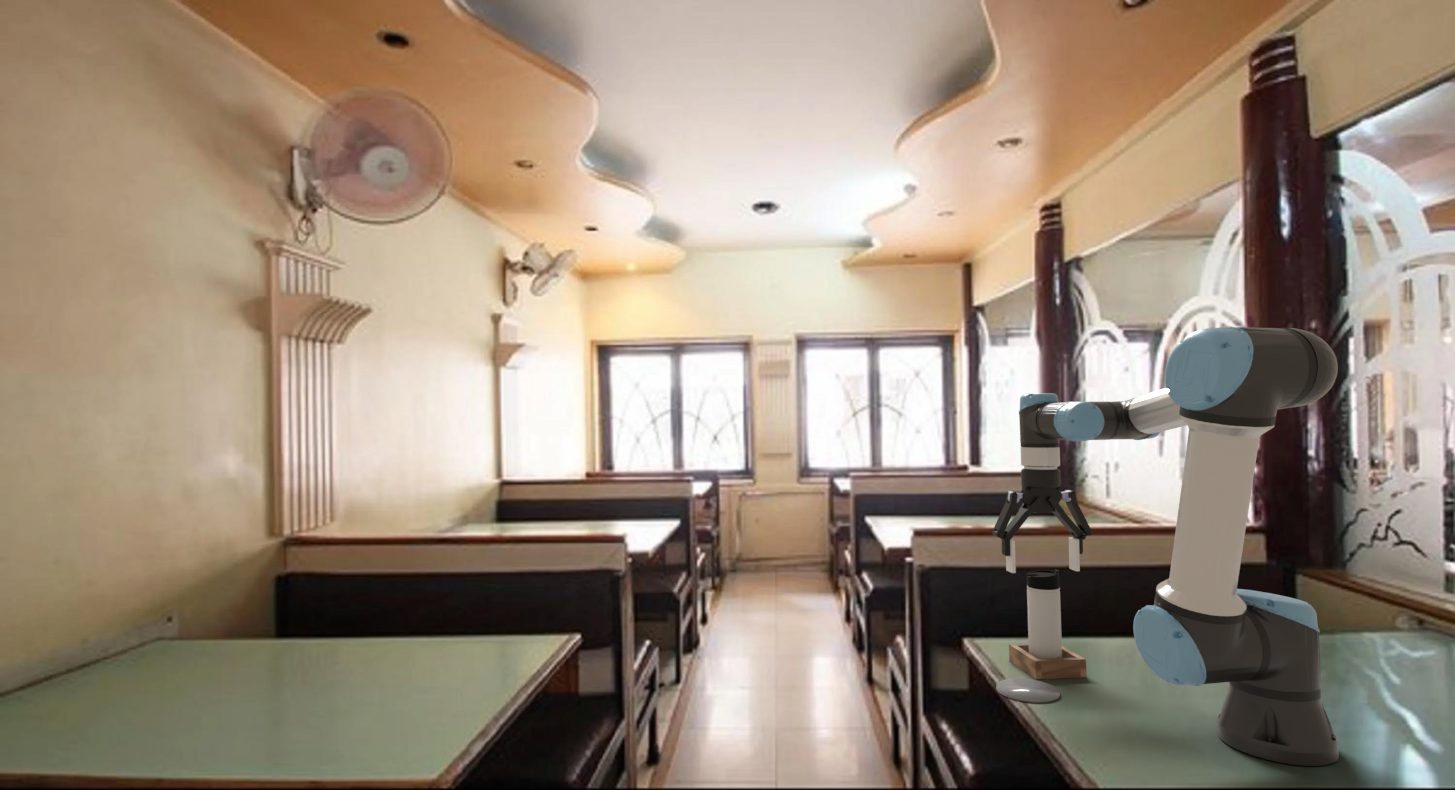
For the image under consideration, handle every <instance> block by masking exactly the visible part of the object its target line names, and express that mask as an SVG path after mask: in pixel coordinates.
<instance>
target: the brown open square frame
mask: <svg viewBox="0 0 1455 790" xmlns="http://www.w3.org/2000/svg"><path fill="white" fill-rule="evenodd" d="M1008 654H1009V655H1008V656H1009V658H1008V661H1009V662H1010V663H1012V665H1015V666H1016V667H1017V668H1019V669H1020V670H1021V671H1023V672H1025V673H1026V674H1027V675H1029V676H1030V677H1032V678H1033V679H1034V680H1051V679H1052V680H1053V679H1076V678H1077V679H1078V678H1079V679H1081V678H1088V677H1087V675H1088V673H1087V659H1086V657H1085V658H1084V657H1082V656H1081V655H1079V654H1077V653H1076V652H1073V651H1072V650H1070V649H1068V648H1067V647H1065V646H1063V645H1062V658H1054V659H1037V658H1036V657H1034V656H1032V655H1031V654H1029V643H1008Z"/></svg>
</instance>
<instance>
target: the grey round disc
mask: <svg viewBox="0 0 1455 790" xmlns="http://www.w3.org/2000/svg"><path fill="white" fill-rule="evenodd" d="M995 687H996V691H997V693H999V694H1000V695H1001V696H1003V697H1006V698H1008V699H1010V700H1011V699H1012V700H1014V701H1018V702H1024V703H1036V704H1037V703H1039V704H1040V703H1041V704H1042V703H1051V702H1054V701H1057V700H1059V698H1060V694H1061V692H1060V690H1059V688H1057V687H1056V686H1054V685H1052V684H1050V683H1047V682H1044V681H1041V680H1038V679H1029V678H1006V679H1002V680H999V681H997V683H996V686H995Z"/></svg>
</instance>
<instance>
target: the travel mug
mask: <svg viewBox="0 0 1455 790" xmlns="http://www.w3.org/2000/svg"><path fill="white" fill-rule="evenodd" d="M1026 575H1027V576H1026V581H1027V582H1026V598H1027V599H1026V601H1027V603H1026V604H1027V631H1028V633H1027V635H1028V636H1027V637H1028V644H1029V654H1031V655H1032V656H1034V657H1036V658H1037V659H1054V658H1062V646H1063V644H1062V641H1063V640H1062V637H1063V636H1062V611H1061V609H1062V608H1061V605H1062V604H1061V591H1060V590H1061V587H1060V586H1061V585H1060V575H1062V571H1061V570H1059V569H1040V570H1039V569H1037V570H1033V571H1032V570H1031V571H1029V572H1028V573H1026Z"/></svg>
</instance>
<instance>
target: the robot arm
mask: <svg viewBox="0 0 1455 790" xmlns="http://www.w3.org/2000/svg"><path fill="white" fill-rule="evenodd" d="M1337 360H1338V359H1337V357H1336V354H1335V352H1334V351H1333V348H1331V347H1330V345H1329V344H1328V343H1327V342H1326V341H1325V340H1324V339H1323V338H1322V337H1320V336H1318V335H1317V334H1314V333H1313V332H1311V331H1307V330H1303V329H1299V328H1296V327H1295V328H1294V327H1245V326H1244V327H1241V326H1237V327H1236V326H1231V325H1229V326H1220V327H1208V328H1201V329H1198V330H1195V331H1192V332H1191V333H1188V335H1186V336H1185V337H1184V338H1183V339H1182V340H1180V341H1178V343H1177V344H1176V346H1175V347H1174V348H1173V350H1172V351H1171V353H1170V355H1169V357H1168V359H1167V361H1166V366H1165V371H1164V386H1165V387H1163V388H1161V389H1157V390H1154V391H1151V392H1148V393H1146V394H1142V395H1139V396H1137V397H1133V398H1131V399H1130V398H1129V399H1127V400H1121V401H1120V400H1119V401H1084V400H1073V401H1072V400H1071V401H1063V402H1060V401H1059V396H1058V394H1056V393H1053V392H1052V393H1051V392H1045V393H1044V392H1043V393H1038V392H1037V393H1035V392H1034V393H1024V394H1022V395H1021V396H1020V398H1019V410H1018V415H1019V416H1018V417H1019V438H1020V439H1019V440H1020V441H1019V443H1020V466H1022V467H1023V468H1021V470H1020V485H1021V491H1020V492H1015V491H1011V490H1008V491H1007V492H1006V496H1005V503H1004V505H1003V507H1002V509H1001V512H1000V513H999V516H998V518H997V521H996V523H995V525H994V527H993V529H992V532H991V534H992V536H993V537H997V538H999V539H1000V540H1001V554H1002V555H1003V556H1005V570H1006V572H1009V573H1011V574H1017V565H1016V564H1017V563H1016V561H1017V560H1016V541H1015V540H1013V538H1014V536H1015V534H1016V533H1017V532H1018V531H1019V529H1021V527H1022V526H1023V524H1024V523H1025V522H1026V520H1028V519H1029V517H1030V516H1032V515H1033V514H1042V513H1045V514H1053V515H1054V516H1055V517H1056V518H1057V519H1058V521H1059V522H1060V523H1061V524H1062V525H1063V526H1064V528H1065V529H1066V530H1067V531H1068V532H1069V533H1070V534H1071V536H1072V537H1068V568H1069V569H1070V570H1072V571H1074V572H1080V571H1081V568H1080V567H1081V565H1080V563H1081V562H1080V555H1083V552H1084V541H1083V540H1085V539H1086V538H1087V537H1088V536H1092V534H1093V530H1092V528H1091V527H1090V524H1089V523H1088V521H1087V518H1086V517H1085V515H1084V513H1083V511H1082V509H1081V507H1080V504H1079V503H1078V501H1077V500H1078V499H1077V494H1076V491H1074V490H1071V489H1065V490H1064V491H1061V485H1062V484H1061V483H1062V481H1061V470H1060V469H1059V468H1058V467H1060V466H1061V451H1060V450H1061V448H1060V446H1061V445H1060V441H1070V442H1075V443H1076V442H1086V441H1087V442H1088V441H1104V440H1105V441H1107V440H1135V441H1141V440H1146V439H1147V440H1149V439H1154V438H1156V437H1158V436H1159V434H1160V433H1162V432H1165V431H1168V430H1173V429H1177V428H1182V427H1186V426H1187V427H1188V433H1187V443H1186V450H1185V456H1184V466H1183V471H1182V472H1183V474H1182V481H1181V486H1180V487H1181V488H1180V489H1181V490H1180V497H1179V503H1178V511H1177V517H1176V518H1177V519H1176V527H1175V531H1174V540H1173V548H1172V555H1171V562H1170V571H1169V577H1168V578H1166V579H1165V580H1163V581H1160V582H1159V583H1158V584H1157V585H1156V588H1155V596H1154V602H1153V603H1154V604H1153V605H1149V604H1146V605H1145V606H1144V607H1141V609H1139V610H1138V611H1137V612H1136V613H1135V616H1134V619H1133V626H1132V627H1133V628H1132V630H1133V637H1134V642H1135V645H1136V647H1137V650H1138V652H1139V653H1140V655H1141V657H1142V660H1143V662H1144V663H1145V664H1146V666H1147V667H1148V668H1149V669H1150V671H1152V672H1153V674H1155V675H1156V677H1158V678H1159V679H1161V680H1162V681H1164V682H1166V683H1168V684H1171V685H1174V686H1192V687H1201V686H1203V685H1209V684H1222V683H1228V687H1227V691H1226V693H1225V697H1224V700H1223V703H1222V707H1221V711H1220V713H1219V715H1218V717H1217V719H1216V720H1217V721H1216V724H1217V725H1216V726H1217V727H1216V728H1217V729H1216V731H1217V737H1219V738H1220V740H1221V741H1222V742H1223V743H1225V744H1226V745H1228V746H1229V747H1232V748H1233V749H1236V750H1237V751H1240V752H1243V753H1245V754H1248V755H1250V756H1254V757H1256V758H1260V759H1263V760H1267V761H1272V762H1277V763H1282V764H1287V765H1294V766H1304V767H1307V766H1308V767H1309V766H1310V767H1316V766H1317V767H1321V766H1327V765H1331V764H1335V763H1336V762H1337V761H1338V760H1339V757H1340V756H1339V754H1340V753H1339V743H1338V742H1339V741H1338V738H1337V736H1336V735H1335V734H1334V730H1333V728H1332V725H1331V724H1332V723H1331V721H1330V719H1329V717H1328V714H1327V712H1326V710H1325V708H1324V707H1325V706H1324V705H1323V702H1322V689H1321V688H1322V687H1321V686H1322V685H1321V661H1320V660H1321V654H1320V652H1321V651H1320V631H1321V629H1320V628H1319V626H1318V625H1319V624H1318V616H1317V615H1318V614H1317V611H1316V609H1315V607H1313V606H1312V605H1311V604H1310V603H1308V602H1307V601H1304V600H1301V599H1297V598H1294V597H1290V596H1285V595H1280V594H1275V593H1271V592H1263V591H1258V590H1253V589H1245V588H1244V589H1243V588H1238V584H1239V583H1238V582H1239V576H1240V570H1241V562H1242V558H1243V557H1242V556H1243V549H1244V543H1245V536H1246V535H1245V534H1246V530H1247V523H1248V515H1249V510H1250V503H1251V497H1252V488H1253V482H1254V477H1255V476H1254V475H1255V469H1256V464H1257V463H1256V462H1257V456H1258V452H1259V451H1258V449H1259V443H1260V437H1261V436H1262V435H1264V434H1265V433H1267V432H1269V431H1270V430H1272V429H1273V428H1275V425H1276V419H1277V412H1278V411H1279V410H1283V409H1290V408H1298V407H1303V406H1307V405H1310V404H1312V403H1314V402H1317V401H1319V400H1320V399H1321V398H1323V397H1324V396H1325V395H1326V394H1327V393H1328V392H1329V391H1330V390H1331V389H1332V387H1333V386H1334V384H1335V382H1336V380H1337V376H1338V368H1339V367H1338V365H1339V364H1338V361H1337ZM1020 500H1021V501H1022V502H1023V503H1022V504H1021V506H1019V508H1018V511H1017V513H1016V514H1015V515H1014V516H1013V518H1012V515H1013V514H1014V511H1015V509H1016V507H1017V504H1018V503H1019V502H1020ZM1061 500H1063V501H1064V502H1065V504H1066V507H1067V509H1068V510H1069V512H1070V514H1071V516H1072V518H1073V520H1072V519H1071V518H1070V517H1069V515H1068V514H1067V513H1066V512H1065V510H1064V508H1063V507H1062V506H1061V505H1060V502H1061ZM1011 518H1012V519H1011ZM1010 520H1011V521H1010Z"/></svg>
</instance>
